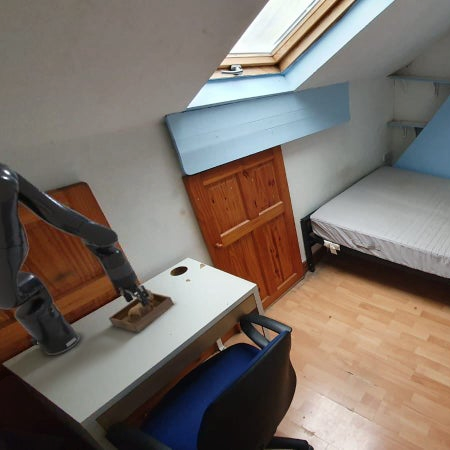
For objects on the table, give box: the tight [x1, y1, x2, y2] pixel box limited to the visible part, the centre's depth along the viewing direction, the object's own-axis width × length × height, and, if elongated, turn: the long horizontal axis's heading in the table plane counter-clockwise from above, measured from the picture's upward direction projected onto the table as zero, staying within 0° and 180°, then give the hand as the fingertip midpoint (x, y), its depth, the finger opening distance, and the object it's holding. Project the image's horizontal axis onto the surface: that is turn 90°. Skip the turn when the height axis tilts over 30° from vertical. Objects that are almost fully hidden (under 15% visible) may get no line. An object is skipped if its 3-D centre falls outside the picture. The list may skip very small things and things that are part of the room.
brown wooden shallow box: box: [108, 292, 175, 334], centre depth 129 cm, size 13×16×4 cm
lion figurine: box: [128, 288, 155, 324], centre depth 127 cm, size 15×5×9 cm, turn 6°
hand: (138, 303), depth 126 cm, fingers open, 8 cm apart
